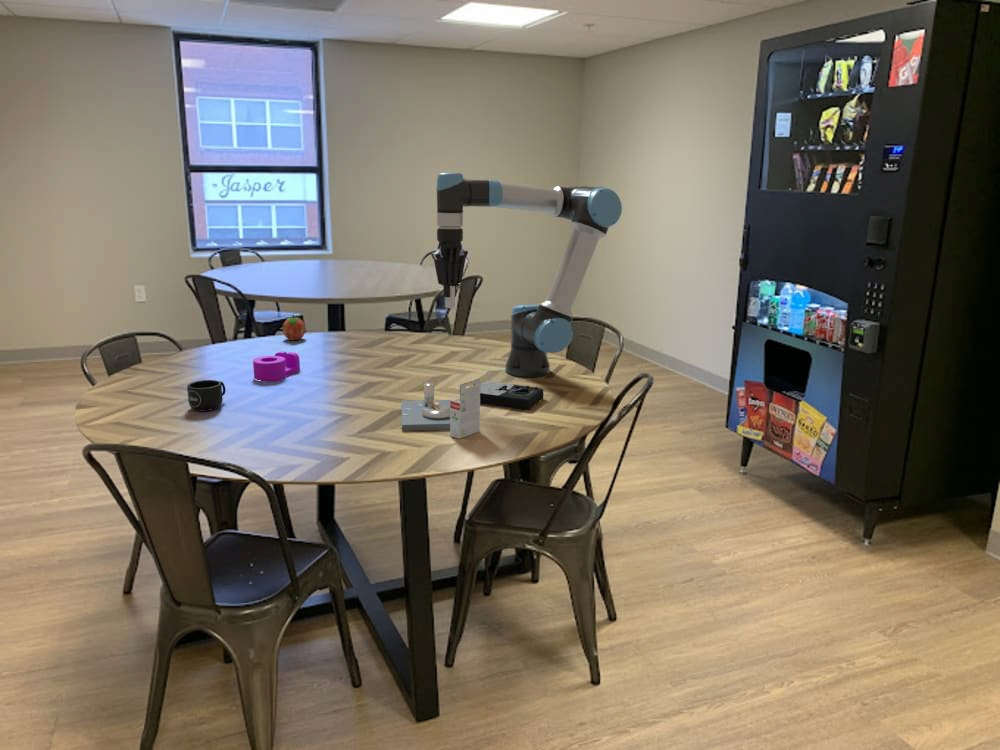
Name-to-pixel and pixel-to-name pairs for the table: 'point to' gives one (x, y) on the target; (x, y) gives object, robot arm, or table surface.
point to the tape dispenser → (276, 366)
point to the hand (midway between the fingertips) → (450, 307)
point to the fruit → (294, 328)
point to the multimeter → (509, 395)
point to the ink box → (465, 411)
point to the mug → (205, 394)
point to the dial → (433, 405)
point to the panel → (416, 421)
